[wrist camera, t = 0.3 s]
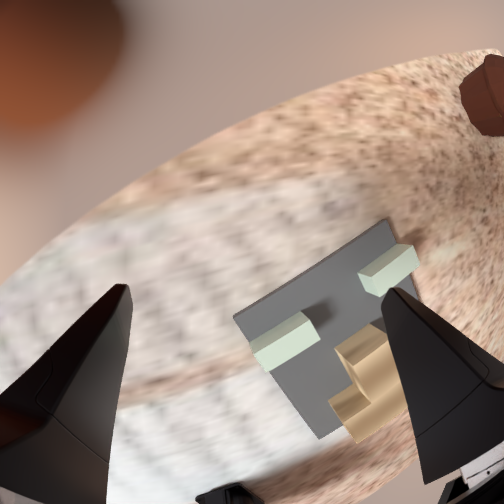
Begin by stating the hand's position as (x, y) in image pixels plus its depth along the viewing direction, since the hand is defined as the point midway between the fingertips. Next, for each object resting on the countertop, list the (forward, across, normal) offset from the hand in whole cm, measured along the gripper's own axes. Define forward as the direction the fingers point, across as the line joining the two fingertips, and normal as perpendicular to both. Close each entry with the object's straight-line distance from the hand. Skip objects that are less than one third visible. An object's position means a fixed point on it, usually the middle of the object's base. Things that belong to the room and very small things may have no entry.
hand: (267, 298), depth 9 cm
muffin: (+23, -32, -11) cm, 41 cm away
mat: (+9, -11, +14) cm, 20 cm away
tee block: (+6, -14, +16) cm, 22 cm away
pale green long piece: (+10, -9, +10) cm, 17 cm away
